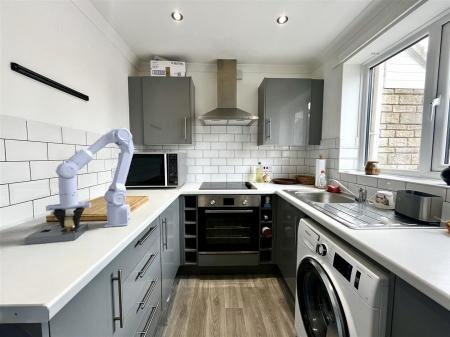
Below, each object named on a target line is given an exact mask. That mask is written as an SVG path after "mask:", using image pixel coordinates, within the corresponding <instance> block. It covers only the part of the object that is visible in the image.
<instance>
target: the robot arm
mask: <svg viewBox="0 0 450 337" xmlns="http://www.w3.org/2000/svg"><path fill="white" fill-rule="evenodd" d="M109 144H115V145H116V146H117V147H118V149H119V150H120V154H119V158H118V162H117V164H116V168H115V172H114V175H113V180H112V182H111V184H110V185H109V186H108V189H107V191H105V192H104V200H105V201H106V218H107V220H106V221H107V223H106V224H104V225H103V226H104V228H105V227H106V228H109V227H123V226H128V225H129V223H130V222H131V220H132V219H131V205H130V204H129V203H125V202H126V201H127V194H126V193H127V188H126V186H125V185H126V182H127V177H128V174H129V170H130V167H131V166H130V165H131V164H132V163H131V162H132V158H133V155H134V152H135V146H134V142H133V135H132V133H131V131H130V130H129V129H127V128H126V127H119V128H113V129H111V130H110V131H108V132H106V133H105V134H103V135H102V136H101V137H100V138H99V139H97V140H96V141H94V143H93V144H91V145H90V146H89V147H88V148H86V149H83V148H81V149H80V150H78V149H76V151H74V154H73V155H72V156H70V157H68V158H65V159H64V162H62V163H60V164H59V165H57V167H56V170H55V173H56V175H57V176H58V178H57V179H58V182H57V184H58V197H59V203H57V204H55V203H54V204H48V205H46V206H45V212H51V211H53V210H54V212H53V214H54V215H55V216H54V217H55V218H56V219H57V221H58V223H59V225H61V227H62V228H64V219H63V217H64V216H65V214H66V209H75V210H74V211H73V212H74V213H73V214H74V216H75V227H78V226H79V224H81V223H80V222H81V218H82V215H83V213H84V210H85V209H91V207H92V203H91V201H89V202H87V201H85V202H79V199H78V184H77V183H78V182H77V175H78V173H79V171H80V170H82V169H83V168H85V166H87V165H88V164H89V163H90V162H92V161H93V159H94V155H95V154H96V153H99V151H101V150H102V149H103V148H104V147H106V146H107V145H109Z"/></svg>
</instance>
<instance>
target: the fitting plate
mask: <svg viewBox="0 0 450 337" xmlns="http://www.w3.org/2000/svg"><path fill="white" fill-rule="evenodd" d="M89 227H90V226H89V223H88V222H85V223H84V222H83V223H79V226H78V227H77V230H76V231H67V232H65V231H64V228H62V227H61V225H60V224H58V225H45V226H44V227H42V228H40V229H37V230H36V231H34V232H33V233H30V234H29V235H27V236H25V237H24V245H25V246H26V245H34V244H35V245H36V244H38V245H39V244H48V243H49V244H50V243H58V242H70V241H77V239H78V238H80V237H81V236H82V235H83V234H85V232H87V231H88V230H89V229H90V228H89Z"/></svg>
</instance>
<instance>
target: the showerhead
mask: <svg viewBox="0 0 450 337" xmlns="http://www.w3.org/2000/svg"><path fill="white" fill-rule="evenodd" d="M74 210H75V209H66V214H65V216H66V215H70V214H74V212H73V211H74ZM53 212H54V210H51V211H50V216H51V217H55V215H54V214H53Z"/></svg>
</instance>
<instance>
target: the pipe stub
mask: <svg viewBox="0 0 450 337" xmlns="http://www.w3.org/2000/svg"><path fill="white" fill-rule="evenodd" d="M63 219H64V231H65V232H67V231H76V230H77V227H75V216H74V213H73V214H70V215H66V216H64V217H63Z"/></svg>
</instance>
